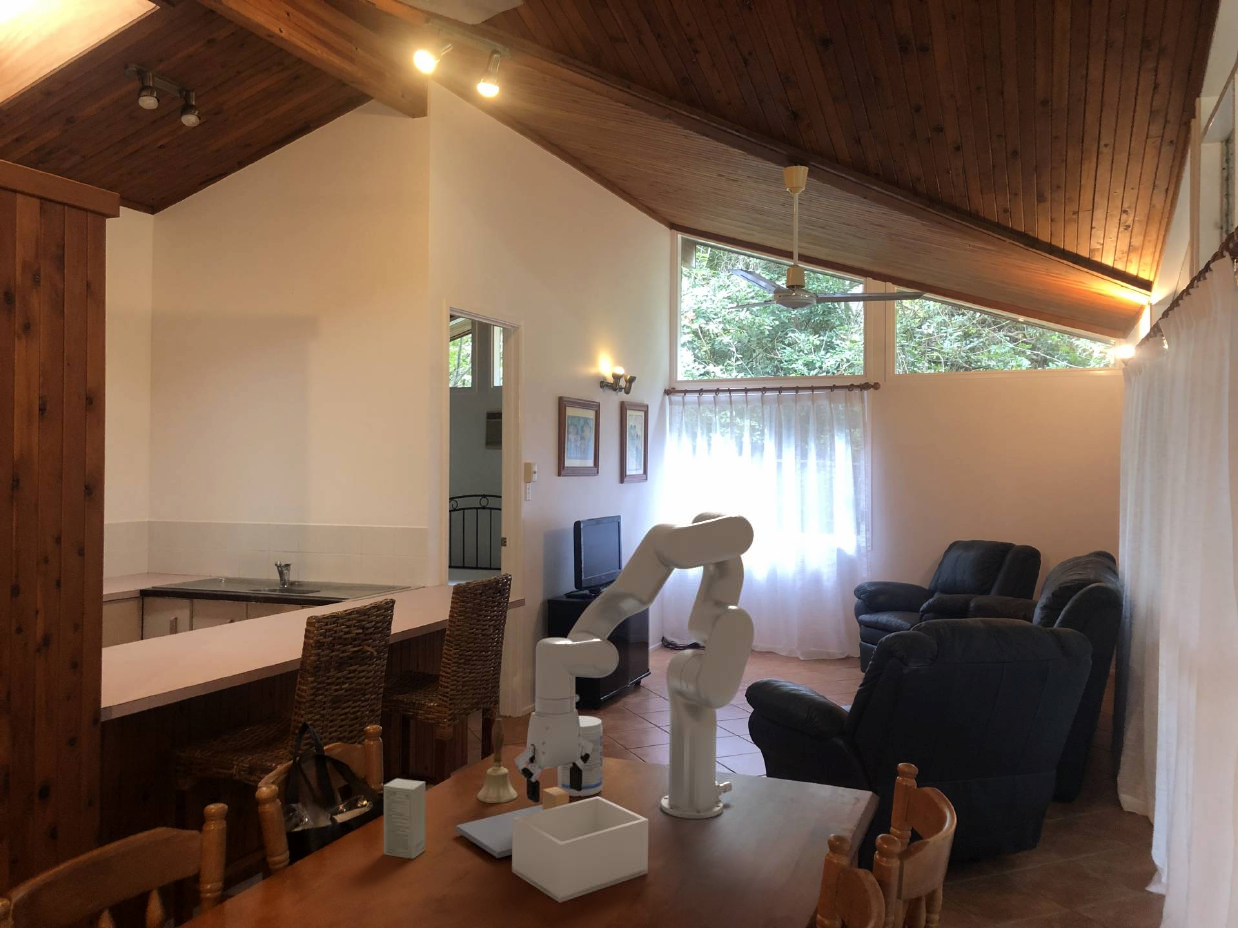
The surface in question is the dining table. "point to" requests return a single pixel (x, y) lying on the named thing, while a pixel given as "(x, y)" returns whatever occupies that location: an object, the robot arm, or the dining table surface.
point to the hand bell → (497, 772)
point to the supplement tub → (593, 766)
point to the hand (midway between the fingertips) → (554, 794)
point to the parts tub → (579, 847)
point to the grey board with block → (507, 824)
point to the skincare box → (404, 818)
